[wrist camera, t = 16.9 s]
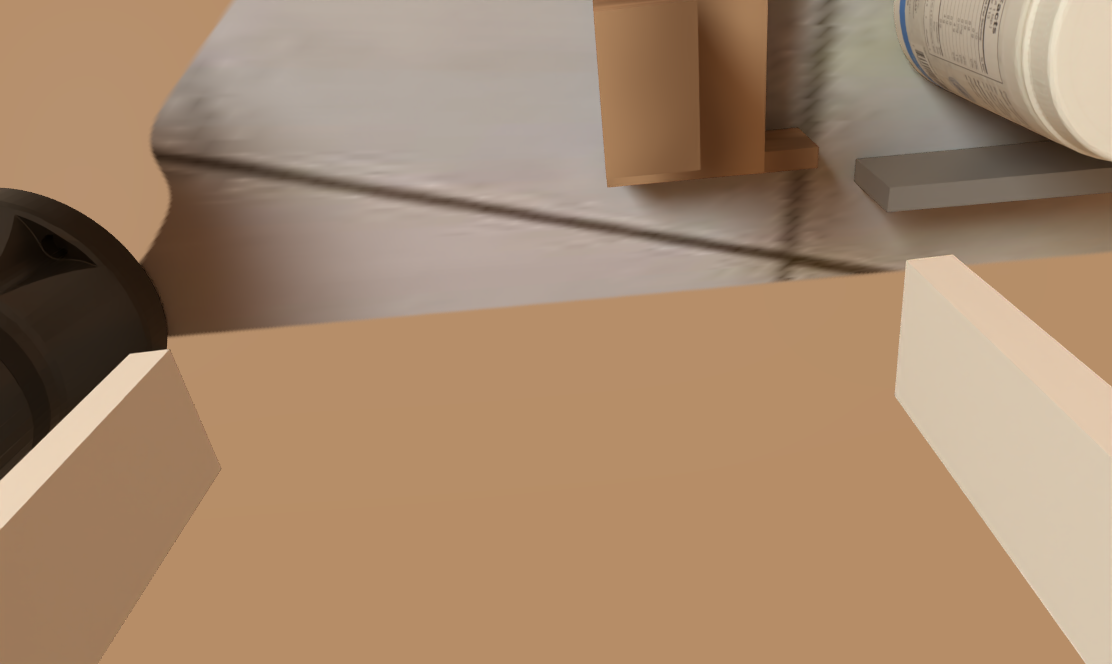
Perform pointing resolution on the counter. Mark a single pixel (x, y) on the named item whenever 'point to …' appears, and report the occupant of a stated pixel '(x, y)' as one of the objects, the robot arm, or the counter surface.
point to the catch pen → (981, 176)
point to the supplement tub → (1020, 61)
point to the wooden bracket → (688, 92)
